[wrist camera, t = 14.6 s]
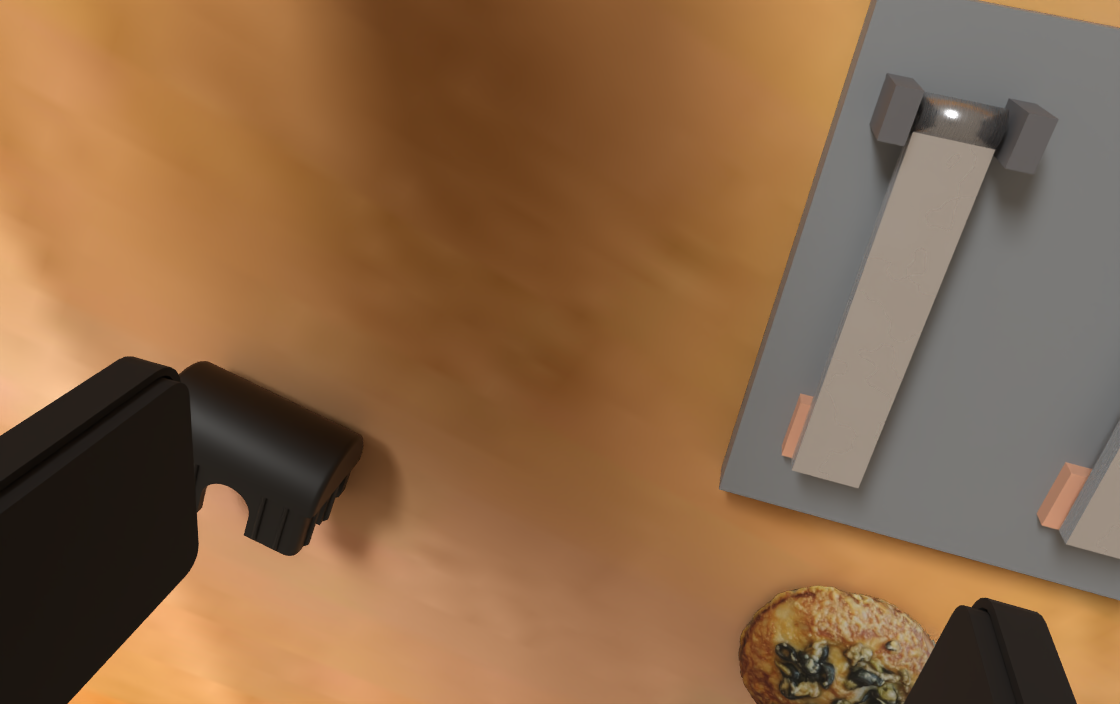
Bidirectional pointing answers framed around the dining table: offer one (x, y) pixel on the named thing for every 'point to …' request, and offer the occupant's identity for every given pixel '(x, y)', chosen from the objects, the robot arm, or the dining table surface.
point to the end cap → (267, 455)
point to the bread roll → (831, 649)
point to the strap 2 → (1098, 505)
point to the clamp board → (965, 296)
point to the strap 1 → (897, 283)
